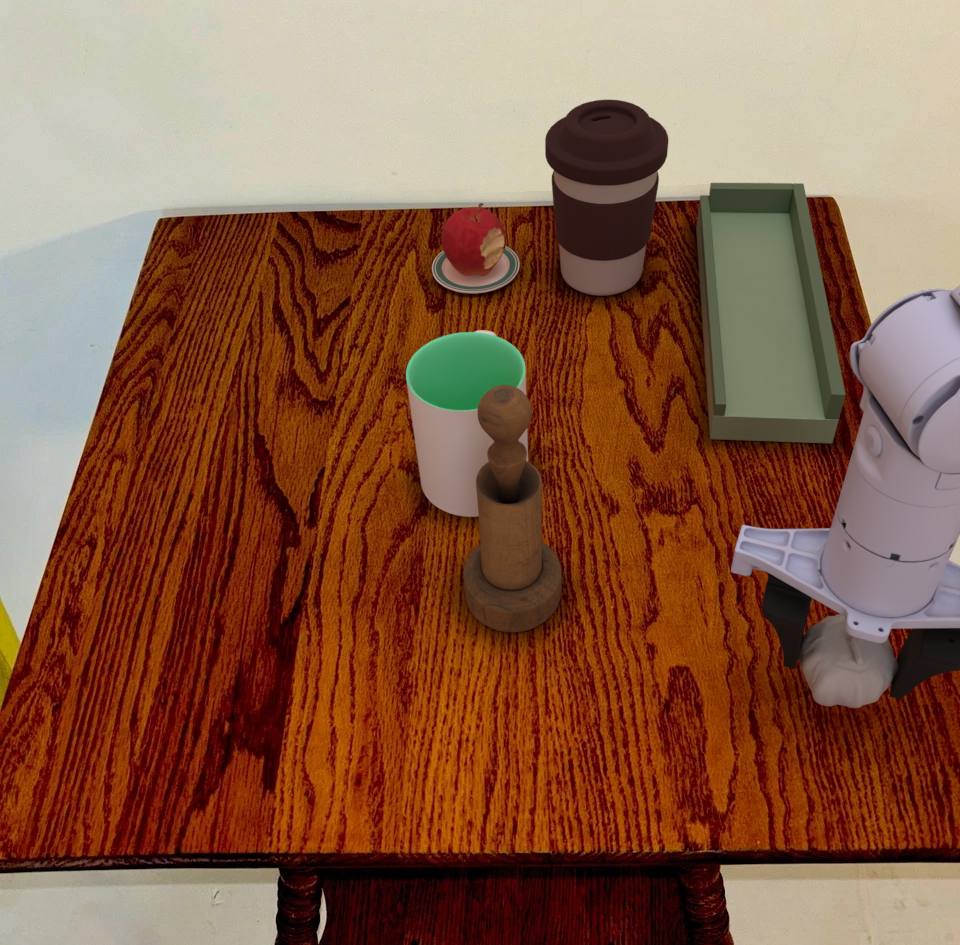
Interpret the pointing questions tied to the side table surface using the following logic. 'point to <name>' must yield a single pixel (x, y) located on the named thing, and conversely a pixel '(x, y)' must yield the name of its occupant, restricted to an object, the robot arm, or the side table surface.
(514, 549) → the mortar and pestle
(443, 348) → the mug
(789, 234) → the tray
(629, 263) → the coffee cup
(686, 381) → the side table surface
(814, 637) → the garlic
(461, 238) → the apple
